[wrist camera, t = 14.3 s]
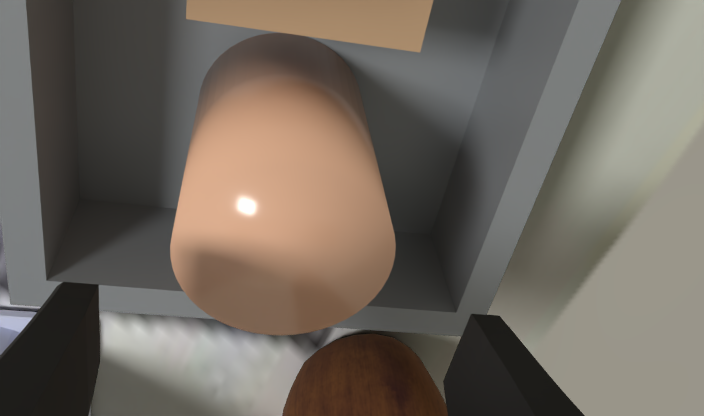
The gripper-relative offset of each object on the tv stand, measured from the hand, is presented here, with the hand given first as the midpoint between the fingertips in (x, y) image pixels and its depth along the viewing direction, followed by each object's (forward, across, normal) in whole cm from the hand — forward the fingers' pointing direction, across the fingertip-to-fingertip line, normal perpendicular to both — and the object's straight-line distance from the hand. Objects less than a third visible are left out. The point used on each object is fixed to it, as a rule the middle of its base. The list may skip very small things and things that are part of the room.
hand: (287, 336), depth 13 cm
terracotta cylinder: (+9, 0, 0) cm, 9 cm away
